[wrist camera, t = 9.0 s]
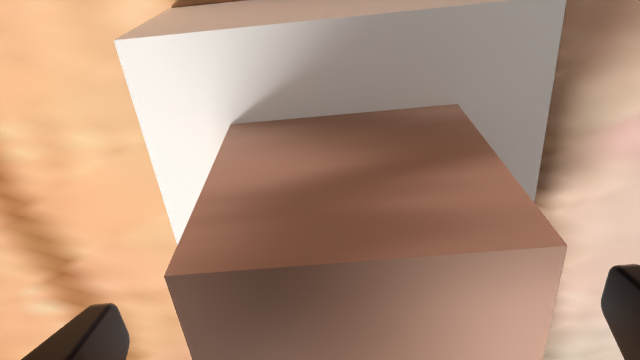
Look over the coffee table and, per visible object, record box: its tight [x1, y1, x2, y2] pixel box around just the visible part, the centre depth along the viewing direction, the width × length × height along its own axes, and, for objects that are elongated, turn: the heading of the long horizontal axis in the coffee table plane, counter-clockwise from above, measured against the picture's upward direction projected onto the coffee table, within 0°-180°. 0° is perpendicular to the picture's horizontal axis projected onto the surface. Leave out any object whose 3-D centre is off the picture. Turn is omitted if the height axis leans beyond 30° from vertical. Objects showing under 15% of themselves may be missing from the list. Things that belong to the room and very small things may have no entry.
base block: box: [114, 0, 567, 245], centre depth 13 cm, size 9×9×4 cm
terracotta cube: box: [164, 104, 567, 360], centre depth 9 cm, size 5×5×5 cm
